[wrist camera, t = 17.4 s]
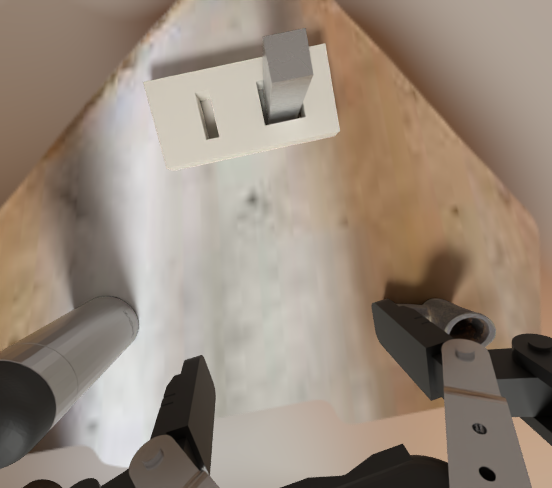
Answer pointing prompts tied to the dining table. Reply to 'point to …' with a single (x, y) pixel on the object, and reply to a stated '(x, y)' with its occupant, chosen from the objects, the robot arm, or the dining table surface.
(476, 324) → the pipe
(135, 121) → the dining table surface
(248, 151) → the socket plank
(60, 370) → the robot arm
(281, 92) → the gray square peg
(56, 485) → the plant pot
